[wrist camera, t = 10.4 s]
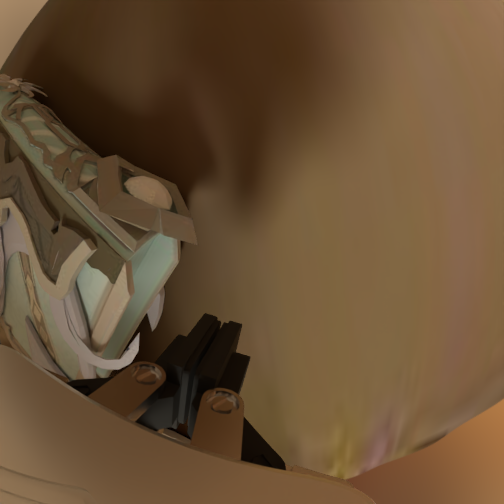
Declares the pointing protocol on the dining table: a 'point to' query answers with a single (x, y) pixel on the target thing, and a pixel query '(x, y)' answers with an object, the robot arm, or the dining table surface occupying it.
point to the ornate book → (78, 242)
